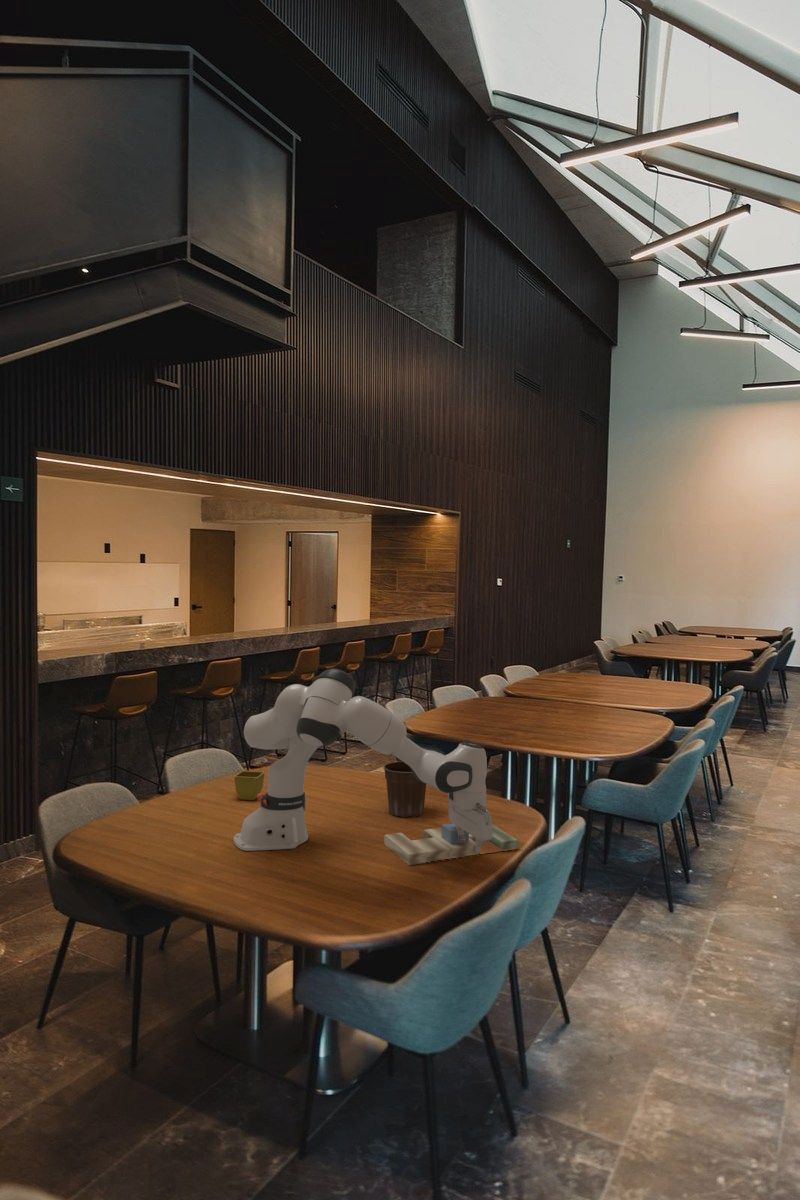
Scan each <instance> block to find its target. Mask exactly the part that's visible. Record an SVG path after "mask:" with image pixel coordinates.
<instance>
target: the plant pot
mask: <svg viewBox="0 0 800 1200" xmlns="http://www.w3.org/2000/svg"><path fill="white" fill-rule="evenodd" d="M382 768H383V770H384V779H385V780H386V792H387V804H388V813H389V814H390V815H392V816H394V815H395V817H398V816H401V817H400V818H408V817H410V816H411V817H413V816H415V817H417V815H419V816H421V815H423V814H424V813H425V812H424V811H425V802H426V792H427V791H426V790H427V784H425V783H422V782H420V781H419V780H417V779H416V778H415V776H414V775H413V773H412V771H411V769H410V768H409V766H408V765H407V764H406V763H404V762H403V761H401V760H398V761H392V762H387V763H384V764H383V765H382ZM422 813H423V814H422ZM420 814H421V815H420Z"/></svg>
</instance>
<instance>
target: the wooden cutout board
mask: <svg viewBox="0 0 800 1200" xmlns="http://www.w3.org/2000/svg"><path fill="white" fill-rule="evenodd" d="M422 830H423V831H422V838H417V839H410V838H409V837H407V836H406V835H405V834H403V833H402V832H395V833H388V834H387V833H386V834H384V837H383V838H384V839H383V840H384V844H383V845H385V846H386V848H388V849H389V850H390V849H391V850H392V851H391V850H390V851H391V852H392V853H393V854H395V855H396V856H397V855H398V856H399V857H398V856H397V857H398V858H400V860H402V861H403V862H404V863H405V864H406V863H407V864H406V865H408V866H413V865H420V864H421V865H422V864H427V863H426V862H428V863H432V862H431V861H435V862H438V861H437V860H442V861H445V860H444V859H449V860H451V859H450V858H455V857H462V856H468V855H472V854H480V853H476V852H475V851H474V850H473V849H474V845H475V844H476V841H475V837H473V836H472V835H470V834H469V842H465V843H457V844H449V843H448V842H447V841H445V840H444V839H443V838H442V827H437V828H427V829H422ZM484 842H488V841H484ZM489 842H491V843H492V844H494V845H495V846H497V847H498V848H500V849H501V850H505V849H512V848H518V849H519V847H518V844H519V843H518V842H519V840H518V838H516V837H514V836H512V835H510V834H508V833H507V832H505V831H504V830H502V829H500V828H499V827H497V826H495V825H494V824H492V839H491V840H490V841H489Z"/></svg>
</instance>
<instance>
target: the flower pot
mask: <svg viewBox="0 0 800 1200" xmlns="http://www.w3.org/2000/svg"><path fill="white" fill-rule="evenodd" d="M264 781H265V772H264V771H252V770H242V771H240V772H238V773H237V774H235V775H234V787H235V791H236V794H237V797H239V799H240V800H241V801H242V800H243V801H254V800H256V799H258V798H257V795H258V794H259V793H262V790H263V787H264Z"/></svg>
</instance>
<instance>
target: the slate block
mask: <svg viewBox="0 0 800 1200" xmlns="http://www.w3.org/2000/svg"><path fill="white" fill-rule="evenodd" d="M441 828H442V838H443V839H444V840H445V841H447V842H448V843H449V844H457V843H465V842H469V833H467V832H466V831H464V834H465V836H466V838H465V839H466V841H465V842H460V841H459V840H458V833H457V829H456V825H455V824H454V823H452V822H451V823H445V824H444V823H443V824H441Z"/></svg>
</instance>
